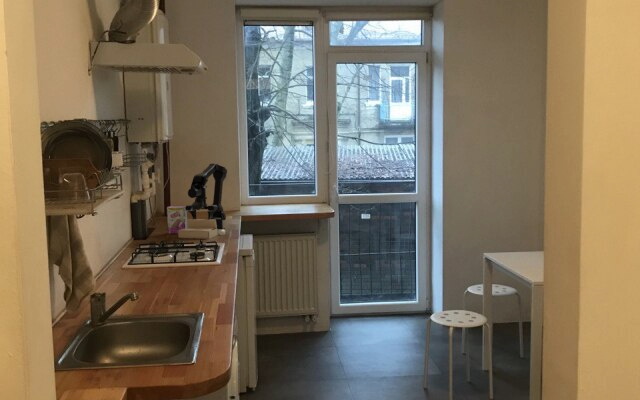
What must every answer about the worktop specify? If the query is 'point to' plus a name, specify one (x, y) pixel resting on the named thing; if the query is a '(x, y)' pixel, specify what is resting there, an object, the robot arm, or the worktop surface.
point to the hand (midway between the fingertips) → (202, 222)
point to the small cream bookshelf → (197, 233)
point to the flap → (201, 223)
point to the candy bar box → (176, 219)
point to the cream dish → (221, 231)
